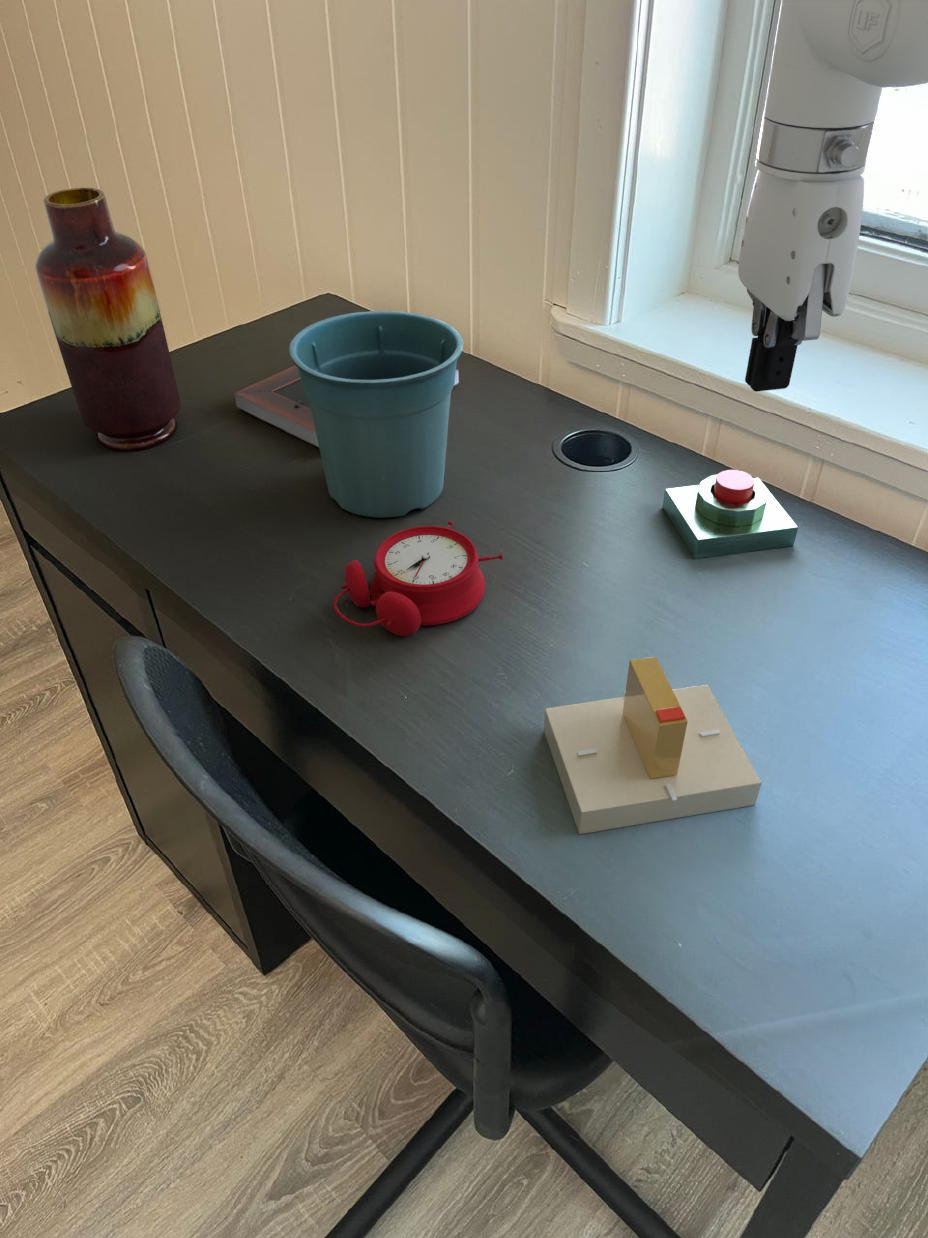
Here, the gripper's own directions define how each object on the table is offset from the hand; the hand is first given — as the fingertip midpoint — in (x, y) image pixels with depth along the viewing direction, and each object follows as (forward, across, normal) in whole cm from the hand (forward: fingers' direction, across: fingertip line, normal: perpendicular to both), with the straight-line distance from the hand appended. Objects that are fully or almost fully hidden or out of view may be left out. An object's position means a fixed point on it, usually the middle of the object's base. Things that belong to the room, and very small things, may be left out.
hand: (766, 385), depth 79 cm
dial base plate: (+18, -23, +16) cm, 34 cm away
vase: (+17, +36, +58) cm, 71 cm away
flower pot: (+17, +18, +31) cm, 40 cm away
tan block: (+15, -23, +16) cm, 32 cm away
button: (+14, +5, -1) cm, 15 cm away
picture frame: (+17, +40, +33) cm, 54 cm away
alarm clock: (+18, 0, +31) cm, 35 cm away
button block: (+17, +5, -1) cm, 18 cm away
